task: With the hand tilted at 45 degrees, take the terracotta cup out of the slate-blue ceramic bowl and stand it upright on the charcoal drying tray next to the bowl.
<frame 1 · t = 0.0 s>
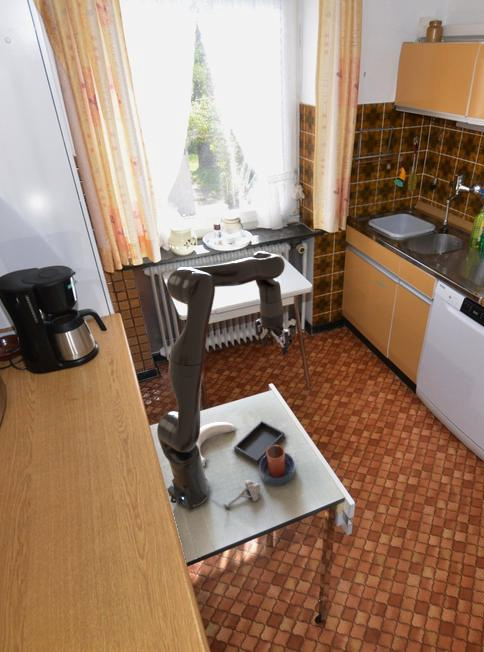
hand: (274, 350, 153), 29 cm above the table, tool pointing down, fingers open, 8 cm apart
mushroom: (243, 499, 137), on the table
cup: (277, 471, 144), resting on bowl
tray: (260, 444, 155), on the table
bowl: (277, 472, 145), on the table
banana: (214, 445, 157), on the table
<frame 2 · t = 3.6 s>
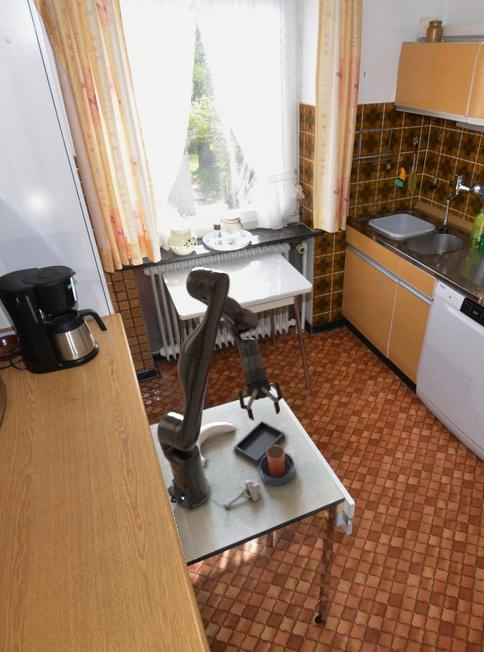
hand: (265, 417, 145), 15 cm above the table, tool tilted 45°, fingers open, 8 cm apart
nothing on the table moved.
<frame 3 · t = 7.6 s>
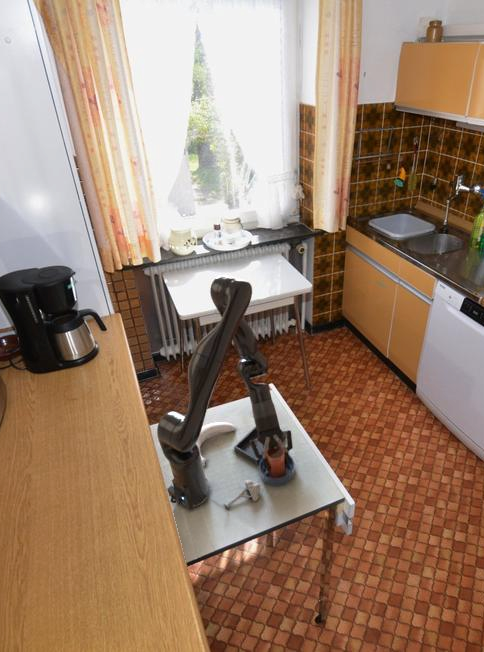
hand: (278, 467, 141), 5 cm above the table, tool tilted 45°, fingers closed on cup, 6 cm apart
cup: (277, 471, 144), point 1 cm above the table, touching bowl, gripper
everything else where it was.
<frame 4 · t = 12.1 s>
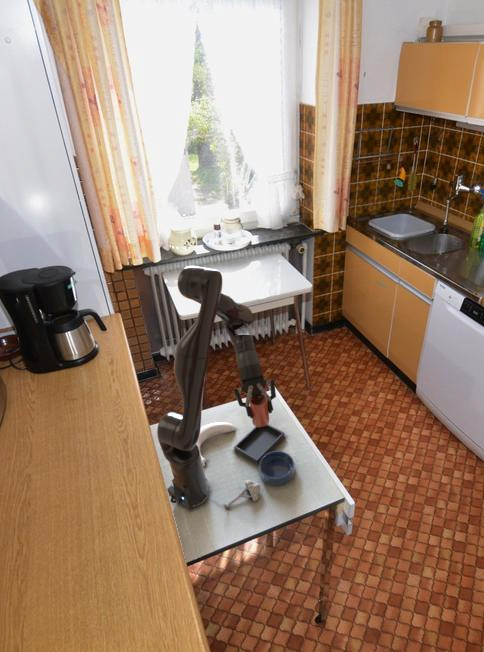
hand: (261, 415, 142), 18 cm above the table, tool tilted 45°, fingers closed on cup, 6 cm apart
cup: (260, 420, 146), point 14 cm above the table, touching gripper
everything else where it was.
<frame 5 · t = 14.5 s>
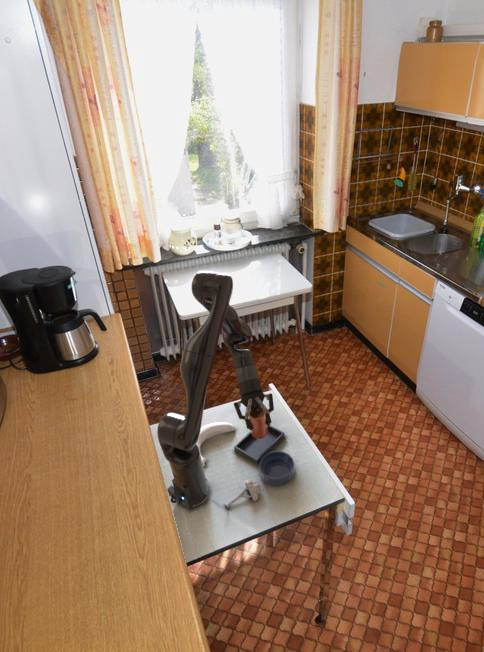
hand: (259, 427, 149), 10 cm above the table, tool tilted 45°, fingers closed on cup, 6 cm apart
cup: (259, 432, 153), point 5 cm above the table, touching gripper
everything else where it was.
when the fingers open (5 cm above the table, at t = 16.5 s): cup stays where it is, resting on tray.
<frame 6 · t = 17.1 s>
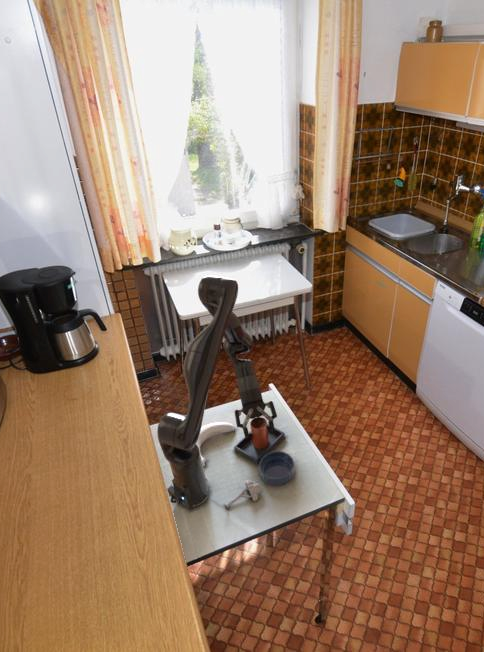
hand: (260, 435, 152), 6 cm above the table, tool tilted 45°, fingers open, 8 cm apart
cup: (260, 442, 156), resting on tray
everything else where it was.
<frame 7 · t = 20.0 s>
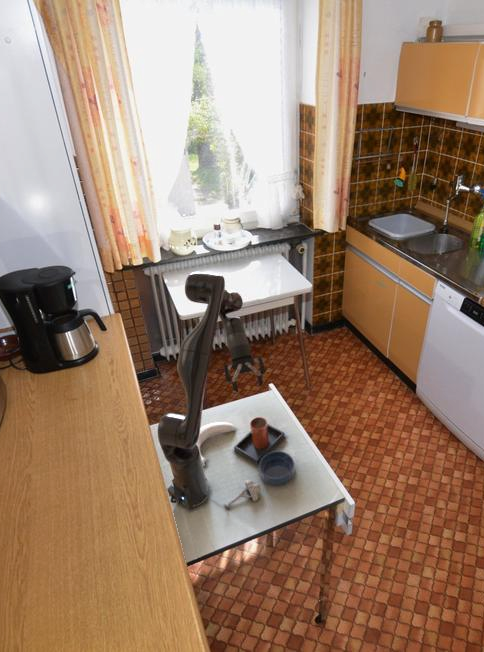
hand: (249, 389, 155), 17 cm above the table, tool tilted 45°, fingers open, 8 cm apart
nothing on the table moved.
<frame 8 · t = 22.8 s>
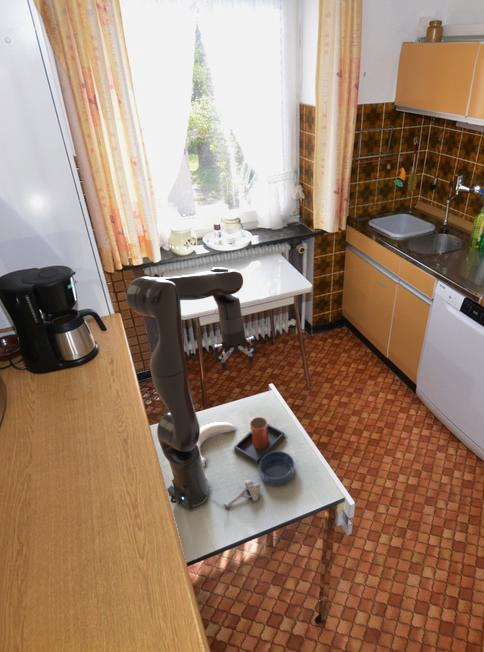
hand: (237, 366, 148), 28 cm above the table, tool pointing down, fingers open, 8 cm apart
nothing on the table moved.
at the end: cup inside the target area in the tray (0.6 cm from its centre), point 0.5 cm above the tray's base; cup tilted 0°; the gripper is holding nothing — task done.
